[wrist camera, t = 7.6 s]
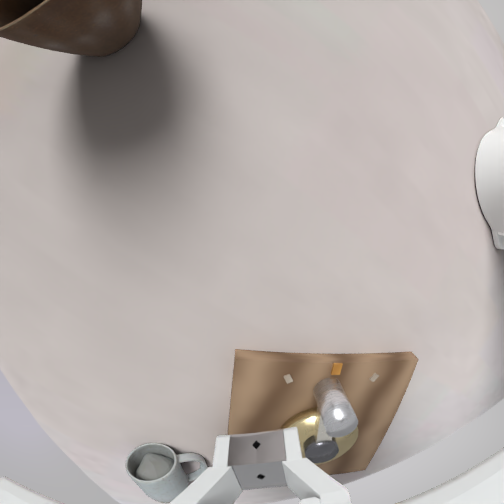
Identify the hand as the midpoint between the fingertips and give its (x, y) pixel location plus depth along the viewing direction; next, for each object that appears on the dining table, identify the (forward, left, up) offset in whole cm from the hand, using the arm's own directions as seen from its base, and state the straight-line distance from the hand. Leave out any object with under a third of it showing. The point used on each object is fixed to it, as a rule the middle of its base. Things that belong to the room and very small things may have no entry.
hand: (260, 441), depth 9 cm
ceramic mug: (+9, +29, -21) cm, 37 cm away
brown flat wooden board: (-10, +19, -20) cm, 29 cm away
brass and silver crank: (-10, +16, -18) cm, 26 cm away
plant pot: (+19, -27, -20) cm, 39 cm away
